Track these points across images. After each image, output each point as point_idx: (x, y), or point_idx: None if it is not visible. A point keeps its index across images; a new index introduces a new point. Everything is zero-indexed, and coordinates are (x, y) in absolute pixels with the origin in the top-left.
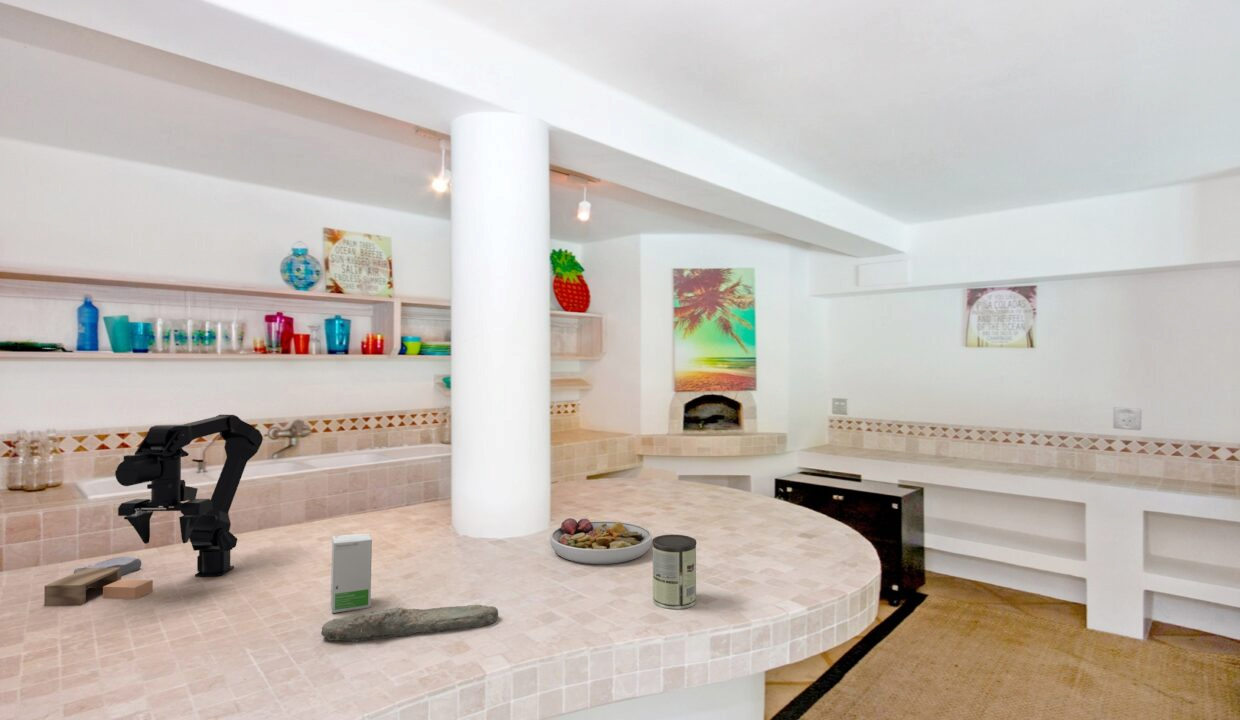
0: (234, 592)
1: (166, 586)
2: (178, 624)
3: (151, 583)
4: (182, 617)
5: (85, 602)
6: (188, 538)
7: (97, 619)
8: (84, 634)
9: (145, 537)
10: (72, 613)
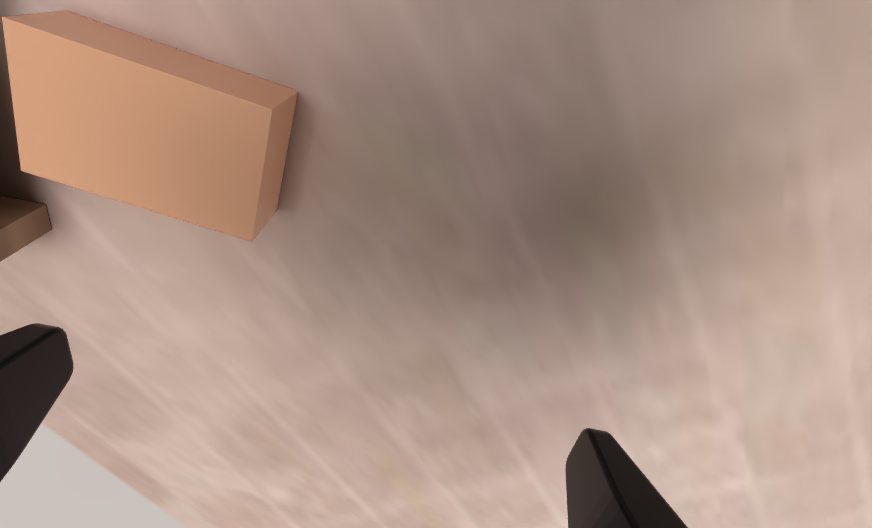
0: (794, 242)
1: (339, 5)
2: None
3: (277, 113)
4: None
5: (44, 206)
6: (636, 478)
7: (275, 400)
8: (323, 493)
9: (2, 455)
10: (113, 321)
